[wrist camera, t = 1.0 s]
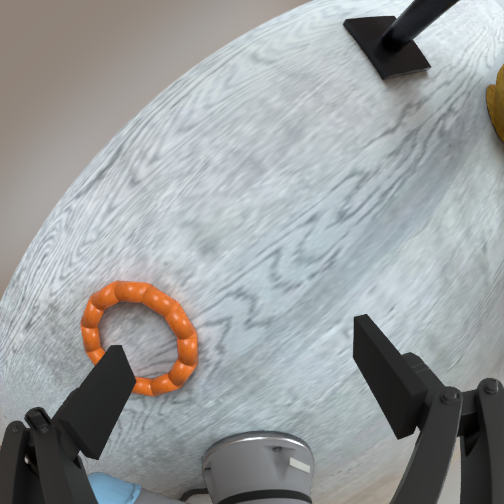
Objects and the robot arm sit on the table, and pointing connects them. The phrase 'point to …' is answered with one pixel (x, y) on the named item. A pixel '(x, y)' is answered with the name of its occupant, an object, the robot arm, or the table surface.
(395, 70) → the peg stand
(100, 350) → the ring
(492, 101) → the pitcher
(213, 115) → the table surface
